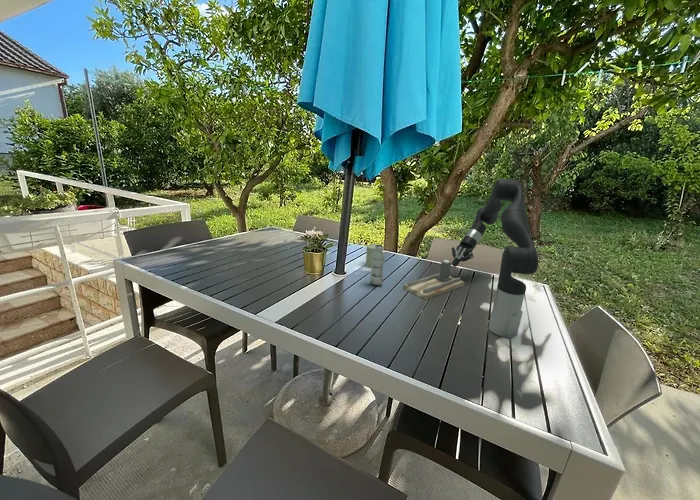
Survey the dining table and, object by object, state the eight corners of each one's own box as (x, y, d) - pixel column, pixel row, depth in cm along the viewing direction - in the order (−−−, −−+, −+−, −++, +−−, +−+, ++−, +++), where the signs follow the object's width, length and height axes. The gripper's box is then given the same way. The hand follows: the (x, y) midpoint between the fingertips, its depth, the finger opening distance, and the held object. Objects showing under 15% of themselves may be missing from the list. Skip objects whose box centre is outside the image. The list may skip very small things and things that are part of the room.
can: (373, 261, 187) (374, 242, 183) (384, 266, 180) (386, 246, 177) (362, 264, 181) (363, 244, 178) (373, 269, 175) (374, 248, 171)
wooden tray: (464, 285, 159) (465, 279, 158) (426, 299, 141) (427, 292, 140) (441, 276, 170) (442, 270, 168) (403, 288, 152) (404, 281, 151)
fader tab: (451, 280, 158) (454, 261, 155) (445, 283, 155) (448, 263, 152) (441, 276, 163) (444, 258, 159) (435, 278, 160) (438, 259, 157)
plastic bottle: (382, 287, 152) (385, 248, 145) (368, 285, 153) (371, 246, 147) (383, 282, 158) (386, 244, 151) (370, 280, 159) (373, 243, 153)
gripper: (457, 232, 167) (440, 257, 164) (480, 238, 157) (462, 265, 154) (462, 240, 172) (445, 265, 168) (484, 247, 162) (467, 273, 159)
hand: (453, 265), depth 161 cm, fingers closed
